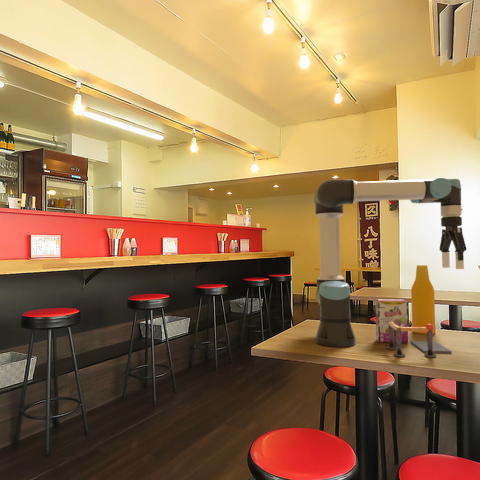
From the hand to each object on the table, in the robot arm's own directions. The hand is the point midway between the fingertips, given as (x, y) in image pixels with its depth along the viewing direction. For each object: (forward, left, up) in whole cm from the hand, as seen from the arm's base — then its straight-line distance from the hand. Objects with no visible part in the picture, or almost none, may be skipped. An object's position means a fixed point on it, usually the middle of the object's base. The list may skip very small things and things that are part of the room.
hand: (452, 268), depth 160 cm
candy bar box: (-27, -10, -28) cm, 41 cm away
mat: (-16, -19, -28) cm, 38 cm away
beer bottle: (-9, +9, -28) cm, 31 cm away
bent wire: (-25, -26, -28) cm, 46 cm away
